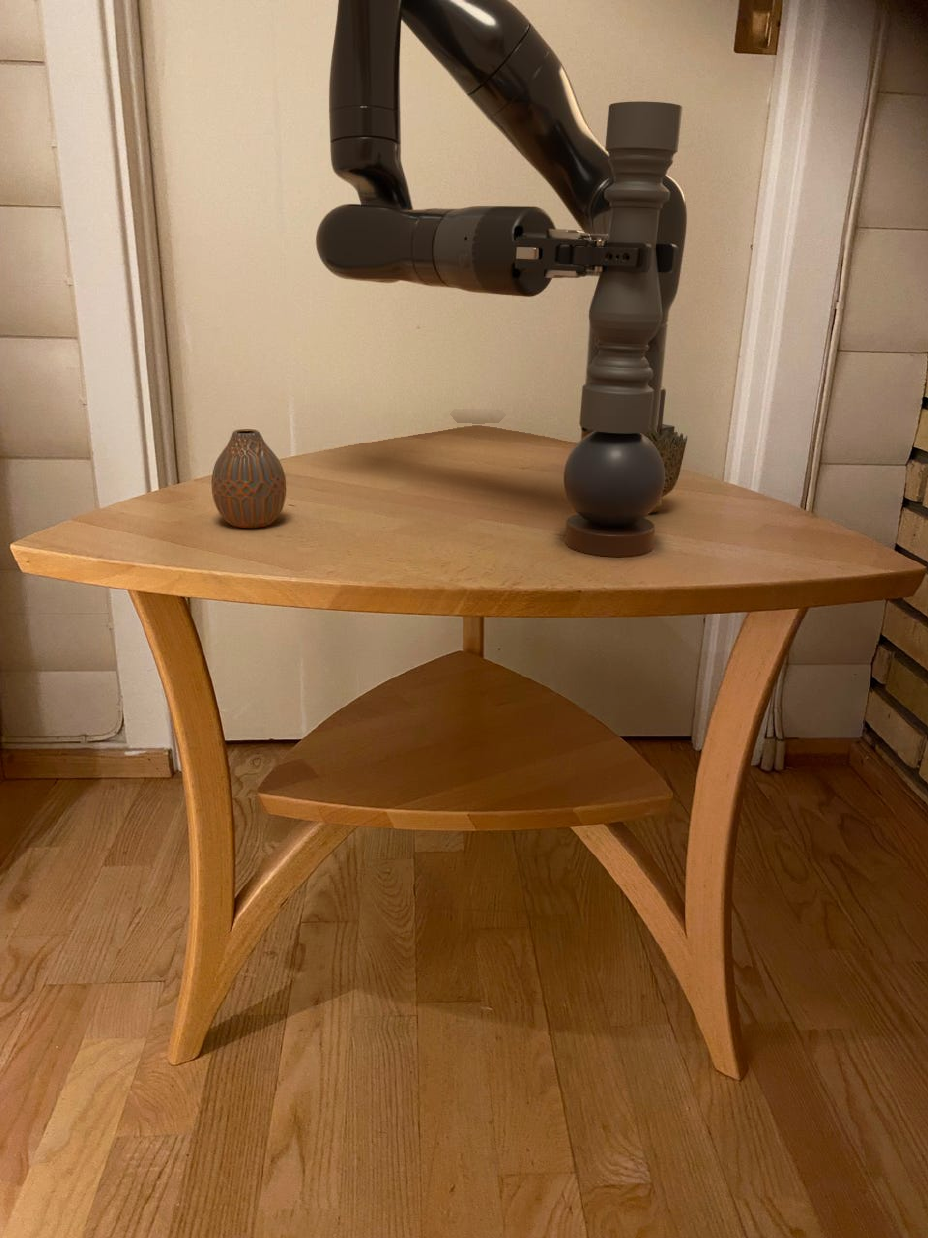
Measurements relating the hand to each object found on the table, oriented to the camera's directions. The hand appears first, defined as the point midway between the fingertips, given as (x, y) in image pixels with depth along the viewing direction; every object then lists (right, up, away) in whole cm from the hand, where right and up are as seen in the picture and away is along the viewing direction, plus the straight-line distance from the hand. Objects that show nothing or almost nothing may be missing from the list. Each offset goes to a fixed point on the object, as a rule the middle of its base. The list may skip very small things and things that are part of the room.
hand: (661, 258), depth 78 cm
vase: (-36, -20, +14) cm, 44 cm away
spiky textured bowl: (+3, -18, +22) cm, 29 cm away
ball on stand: (-3, -22, +11) cm, 25 cm away
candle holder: (-3, -12, +7) cm, 14 cm away
